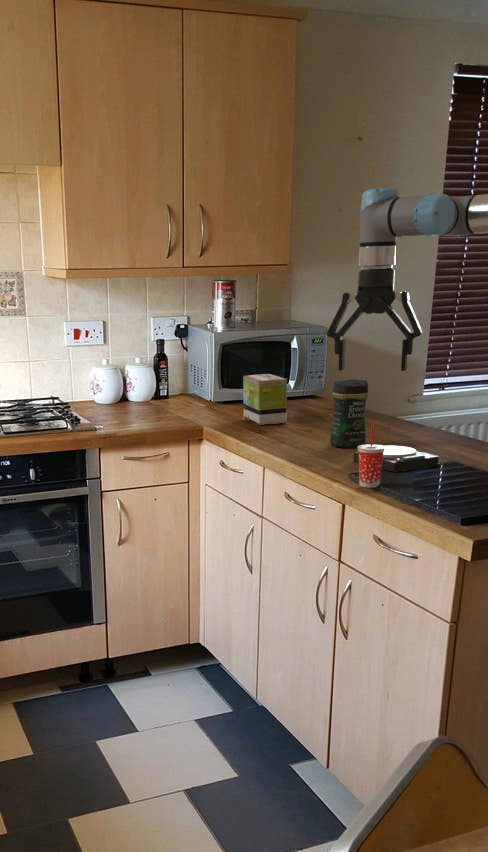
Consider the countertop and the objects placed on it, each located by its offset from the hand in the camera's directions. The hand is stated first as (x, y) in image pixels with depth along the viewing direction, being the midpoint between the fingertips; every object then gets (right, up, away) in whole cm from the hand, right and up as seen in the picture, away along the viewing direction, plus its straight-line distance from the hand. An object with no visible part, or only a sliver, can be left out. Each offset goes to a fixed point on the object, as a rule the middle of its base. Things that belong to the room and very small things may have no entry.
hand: (372, 370), depth 193 cm
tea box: (-13, +6, +98) cm, 99 cm away
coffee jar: (+6, -9, +55) cm, 56 cm away
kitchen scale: (+13, -17, +30) cm, 37 cm away
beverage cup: (+2, -25, +10) cm, 26 cm away
